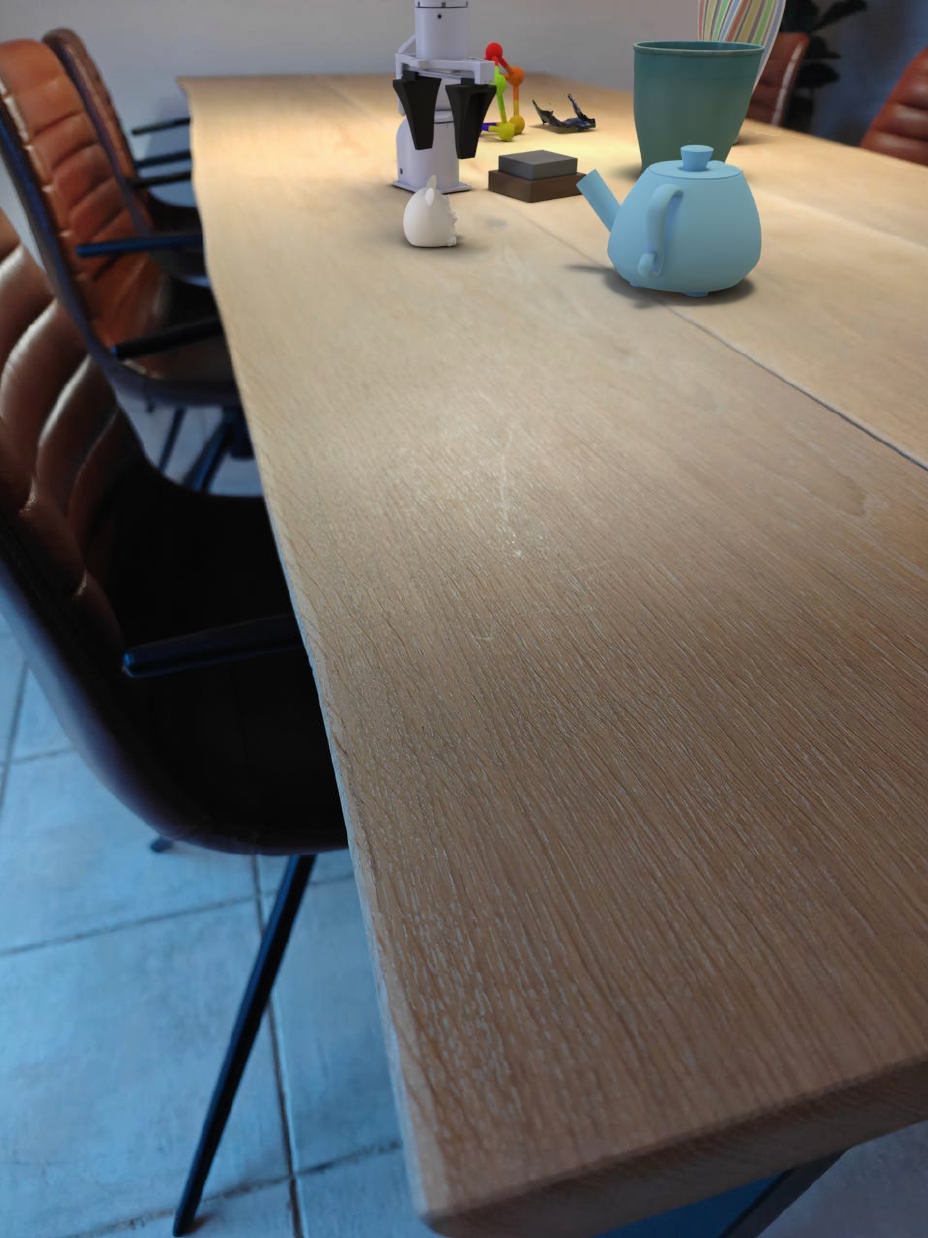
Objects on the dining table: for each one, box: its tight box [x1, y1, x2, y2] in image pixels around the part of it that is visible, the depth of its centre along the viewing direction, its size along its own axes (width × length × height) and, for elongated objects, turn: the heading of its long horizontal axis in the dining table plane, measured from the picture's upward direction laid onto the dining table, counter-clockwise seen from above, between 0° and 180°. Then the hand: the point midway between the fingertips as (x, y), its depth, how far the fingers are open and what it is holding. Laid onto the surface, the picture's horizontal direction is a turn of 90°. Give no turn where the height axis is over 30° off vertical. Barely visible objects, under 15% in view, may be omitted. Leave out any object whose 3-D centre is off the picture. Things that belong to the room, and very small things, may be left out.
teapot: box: [576, 145, 762, 298], centre depth 89 cm, size 20×20×13 cm
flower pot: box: [632, 39, 765, 175], centre depth 128 cm, size 18×18×17 cm
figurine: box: [402, 175, 458, 248], centre depth 103 cm, size 8×6×7 cm
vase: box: [696, 0, 787, 144], centre depth 147 cm, size 14×14×30 cm
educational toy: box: [480, 41, 526, 142], centre depth 158 cm, size 16×13×15 cm
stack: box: [487, 149, 588, 203], centre depth 125 cm, size 10×10×4 cm
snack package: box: [531, 93, 597, 134], centre depth 168 cm, size 12×6×12 cm
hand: (444, 153), depth 99 cm, fingers open, 7 cm apart
